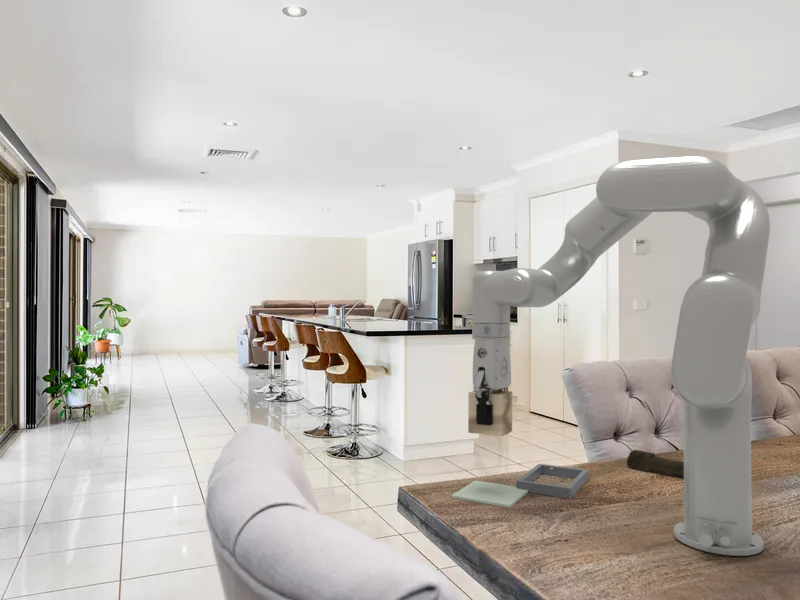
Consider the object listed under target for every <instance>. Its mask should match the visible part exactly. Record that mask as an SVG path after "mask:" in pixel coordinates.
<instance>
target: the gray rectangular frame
mask: <svg viewBox="0 0 800 600" xmlns="http://www.w3.org/2000/svg"><path fill="white" fill-rule="evenodd" d="M550 468H553V469H550ZM542 473H543V474H542ZM541 474H542V475H545V474H546V476H554V477H561V478H569V479H573V480H571V481H570V482H569V484H567V486H564V485H563V486H562V485H558V484H550V483H544V482H536V478H537V477H538V478H539V477H540V476H542V475H541ZM538 478H537V479H538ZM588 480H589V470H588V469H584V468H576V467H575V468H574V467H569V466H568V467H566V466H561V465H552V464H546V463H537V464H536V465H535V466H534V467H532V468H531V469H530V470H529V471H527V472H526V473H525V474H523V475H522V476H520V477H519V478H518V479H517V480H515V483H516V485H515V487H516V488H519V489H525V490H528V492H530V493H529V494H536V495H541V496H548V497H555V498H562V499H569V500H571V499H572V498H573V497H575V495H576V494H577V493H578V492H579V490H580V489H581V488H582V487H583V486H584V485H585V484H586V483H587V481H588Z"/></svg>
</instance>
